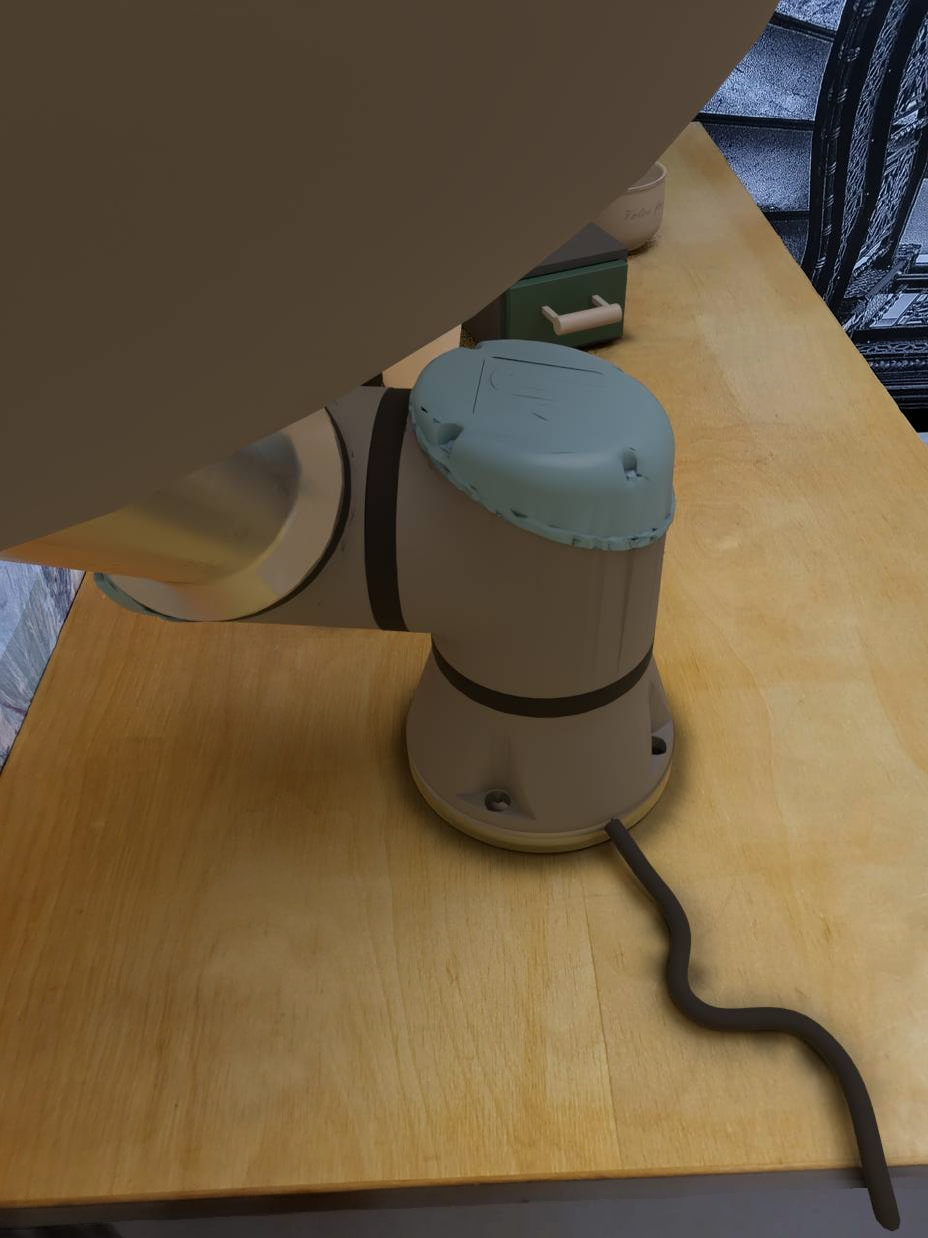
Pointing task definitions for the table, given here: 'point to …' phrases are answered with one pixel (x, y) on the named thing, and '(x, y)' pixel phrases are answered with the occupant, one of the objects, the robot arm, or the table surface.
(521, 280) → the drawer
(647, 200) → the teacup
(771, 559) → the table surface
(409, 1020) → the table surface
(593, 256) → the cabinet
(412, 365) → the cup
